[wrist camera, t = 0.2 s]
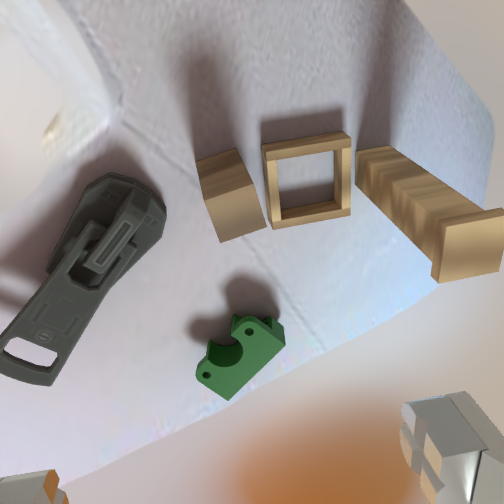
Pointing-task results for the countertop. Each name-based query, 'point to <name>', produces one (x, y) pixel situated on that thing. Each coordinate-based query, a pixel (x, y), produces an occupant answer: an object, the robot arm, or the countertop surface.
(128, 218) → the zipper pull
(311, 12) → the countertop surface
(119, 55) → the countertop surface
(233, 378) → the clamp
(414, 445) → the robot arm
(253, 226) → the wooden block
